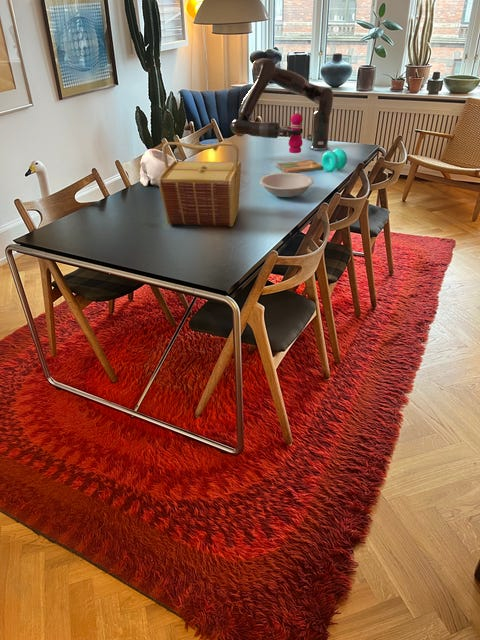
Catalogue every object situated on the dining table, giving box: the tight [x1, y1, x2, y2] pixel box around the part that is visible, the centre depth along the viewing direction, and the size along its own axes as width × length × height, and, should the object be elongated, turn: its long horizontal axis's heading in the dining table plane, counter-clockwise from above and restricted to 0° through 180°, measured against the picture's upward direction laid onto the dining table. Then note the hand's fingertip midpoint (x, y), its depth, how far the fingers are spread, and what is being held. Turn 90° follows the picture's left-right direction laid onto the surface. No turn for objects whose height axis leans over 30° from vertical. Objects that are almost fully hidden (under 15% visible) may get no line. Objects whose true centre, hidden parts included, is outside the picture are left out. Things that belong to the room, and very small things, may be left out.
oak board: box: [277, 159, 324, 173], centre depth 251 cm, size 14×20×2 cm
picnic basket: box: [158, 141, 242, 228], centre depth 185 cm, size 29×26×30 cm
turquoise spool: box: [321, 148, 348, 173], centre depth 244 cm, size 10×10×10 cm
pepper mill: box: [288, 110, 304, 154], centre depth 244 cm, size 7×7×20 cm
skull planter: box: [139, 148, 177, 187], centre depth 230 cm, size 14×20×19 cm
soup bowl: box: [259, 172, 315, 198], centre depth 215 cm, size 24×24×7 cm
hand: (301, 131), depth 243 cm, fingers closed on pepper mill, 4 cm apart
